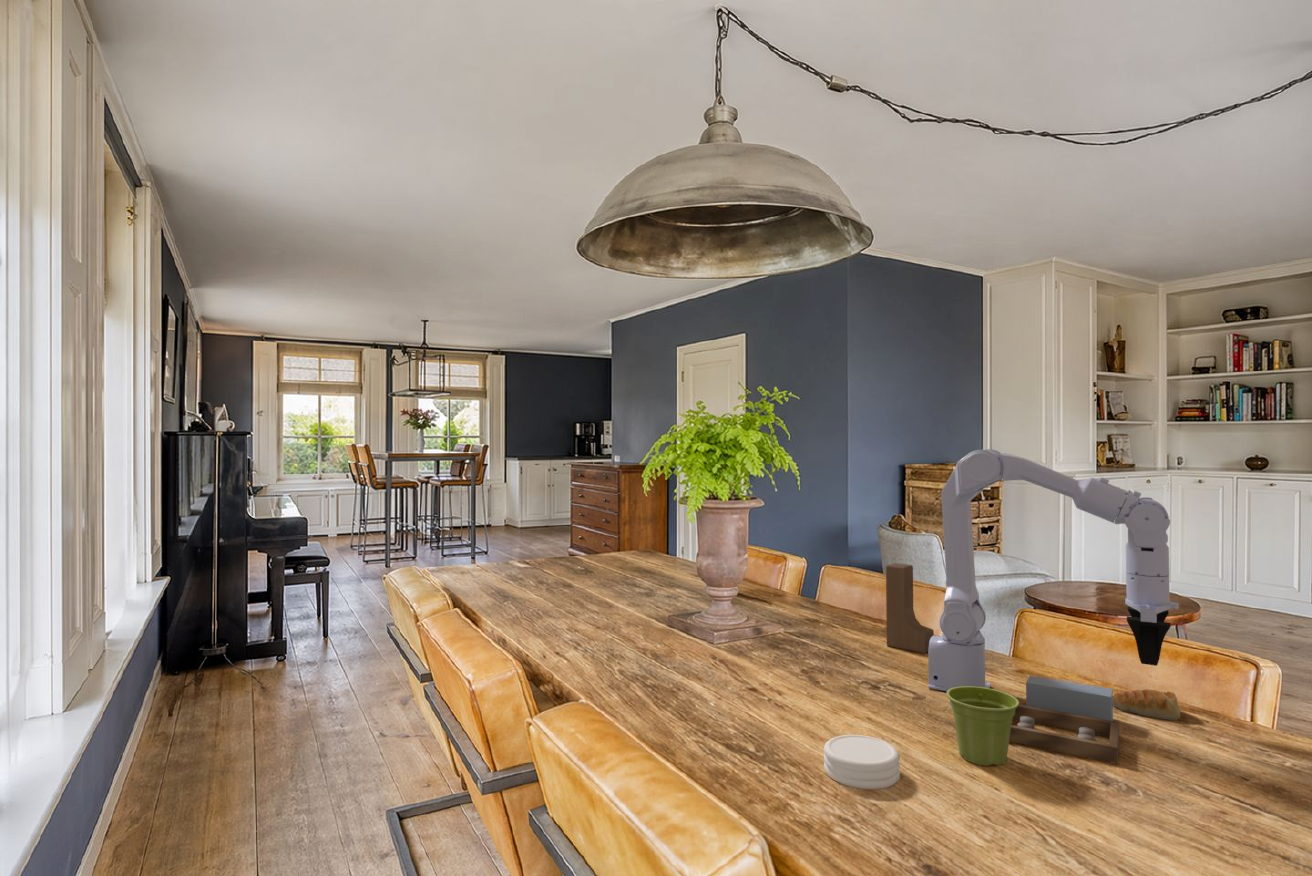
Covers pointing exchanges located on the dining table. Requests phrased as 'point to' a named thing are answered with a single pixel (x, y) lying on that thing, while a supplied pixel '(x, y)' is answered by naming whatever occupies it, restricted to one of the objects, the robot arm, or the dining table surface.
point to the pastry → (1148, 703)
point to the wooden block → (903, 611)
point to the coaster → (861, 761)
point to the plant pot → (982, 723)
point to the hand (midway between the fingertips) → (1148, 658)
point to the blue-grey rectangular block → (1070, 697)
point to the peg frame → (1063, 743)
